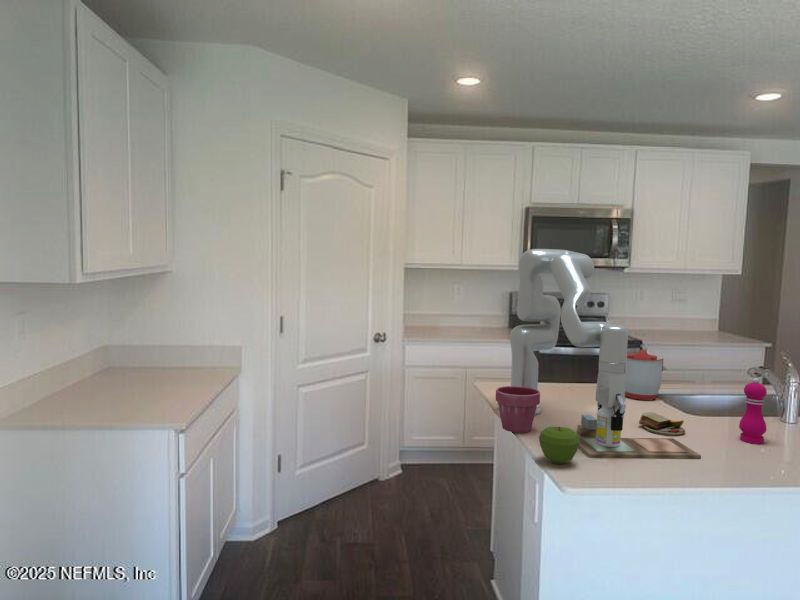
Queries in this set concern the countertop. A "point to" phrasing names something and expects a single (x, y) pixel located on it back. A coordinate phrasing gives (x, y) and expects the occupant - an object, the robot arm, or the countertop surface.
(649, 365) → the citrus juicer
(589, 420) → the brick grey
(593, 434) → the brick walnut
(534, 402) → the plant pot
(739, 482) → the countertop surface
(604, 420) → the supplement bottle
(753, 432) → the pepper mill
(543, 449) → the apple
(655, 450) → the tile board
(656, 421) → the toy sandwich meal
